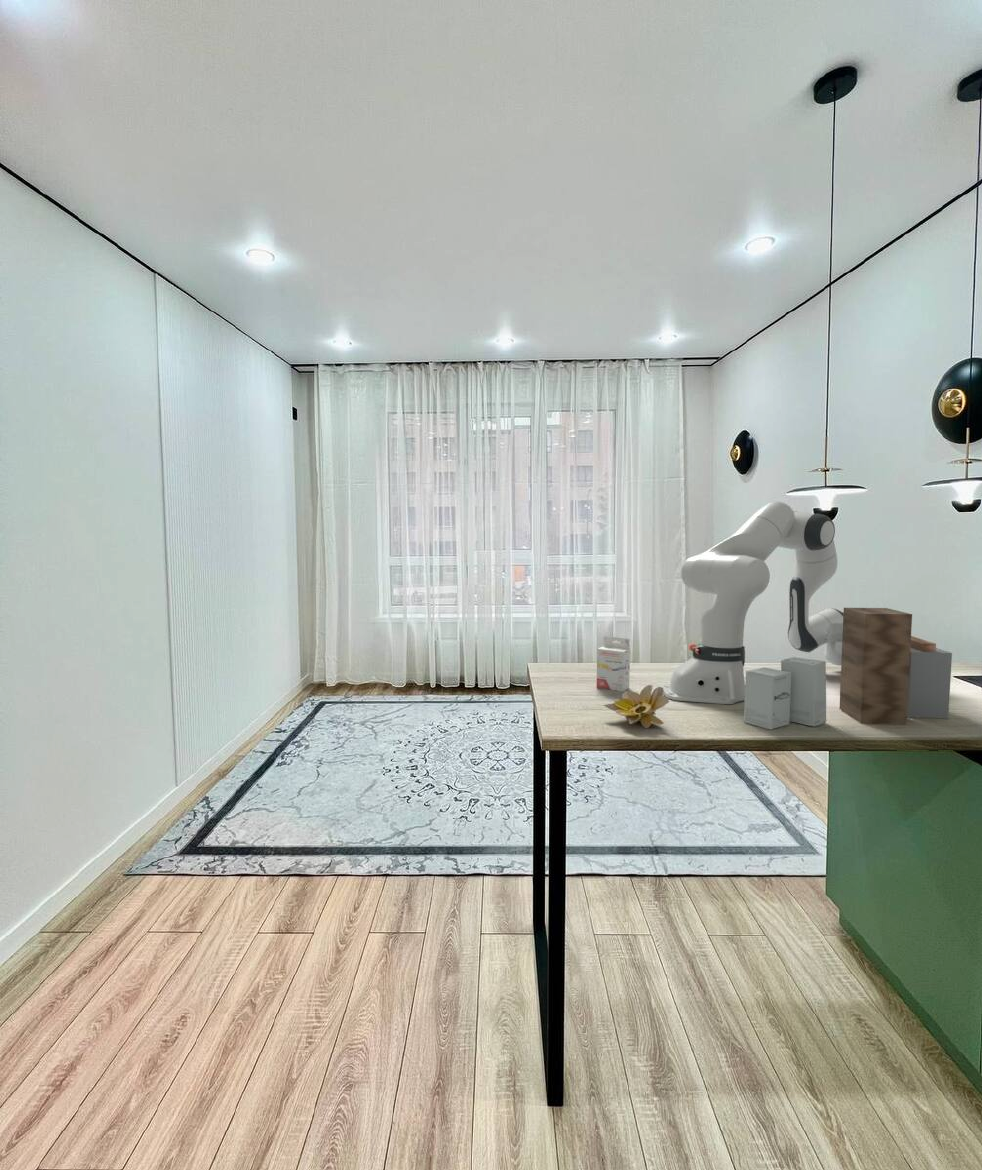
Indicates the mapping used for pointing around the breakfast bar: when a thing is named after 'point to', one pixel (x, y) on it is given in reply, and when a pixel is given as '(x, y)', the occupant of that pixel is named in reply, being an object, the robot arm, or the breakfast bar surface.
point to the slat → (922, 645)
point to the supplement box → (767, 698)
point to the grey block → (929, 684)
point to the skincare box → (807, 690)
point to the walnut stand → (875, 665)
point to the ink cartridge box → (613, 664)
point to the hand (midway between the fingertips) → (875, 622)
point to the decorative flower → (640, 705)
